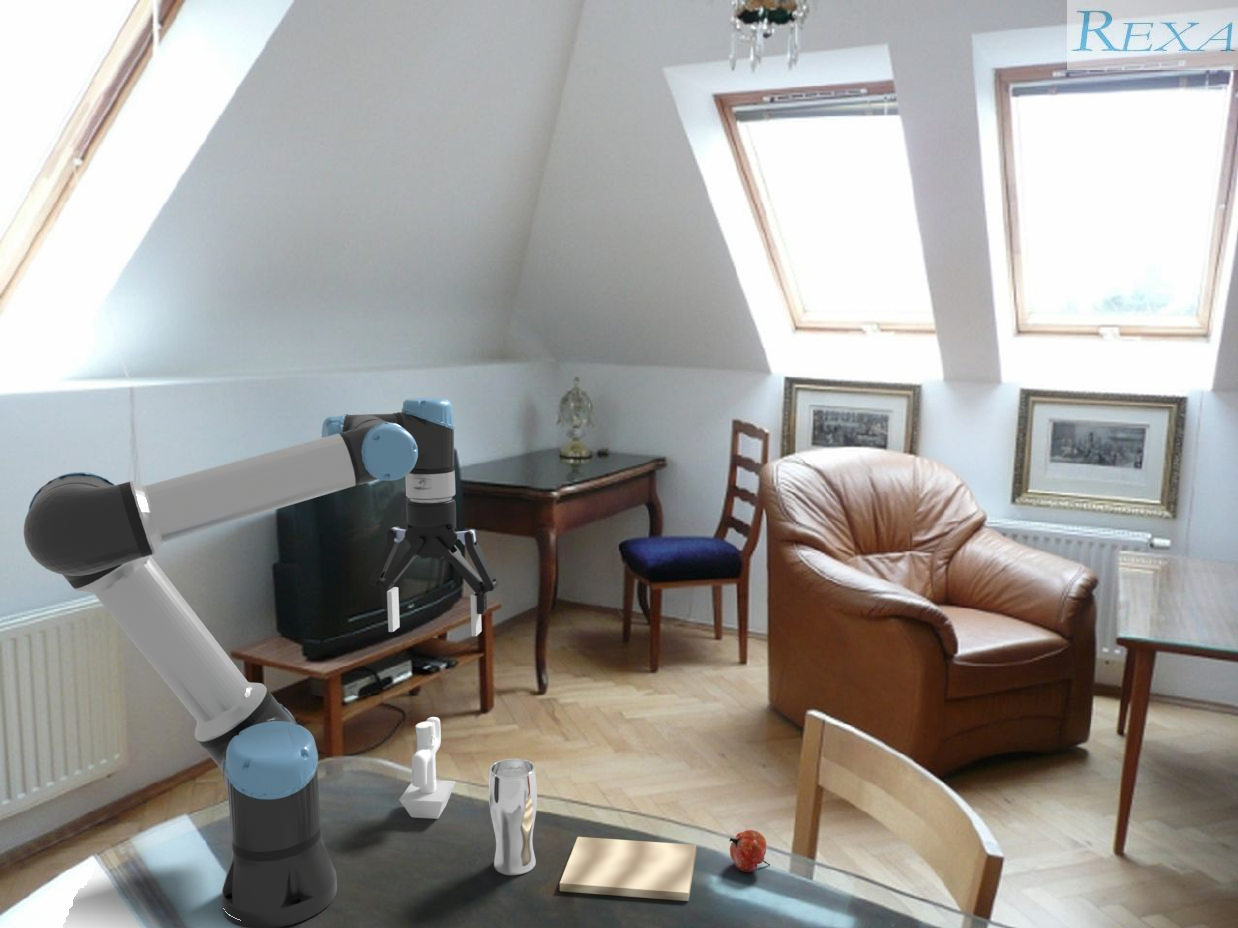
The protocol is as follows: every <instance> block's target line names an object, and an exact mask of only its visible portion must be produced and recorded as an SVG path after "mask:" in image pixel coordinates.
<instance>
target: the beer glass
mask: <svg viewBox="0 0 1238 928" xmlns="http://www.w3.org/2000/svg"><path fill="white" fill-rule="evenodd" d="M535 765H536V764H534V762H532V761H531V760H529V759H526V758H520V757H519V758H518V757H517V758H516V757H515V758H513V757H512V758H511V757H510V758H503V759H500V760H497V761H496V762H494V763H492V764H491V765H490V767H489V774H488V775H489V779H488V804H489V805H488V806H489V811H490V817H491V822H492V826H493V831H494V835H495V855H494V860H493V868H494V869H495V871H496V872H498V873H499V874H502V875H506V876H519V875H523V874H527V873H529V872H531V871H532V870H533V869H534V868H535V866H536V862H537V861H536V855H535V851H534V845H533V836H534V835H533V834H534V833H533V832H534V827H535V822H536V821H535V820H536V815H537V804H538V790H537V789H538V787H537V777H536V776H537V775H536V766H535Z"/></svg>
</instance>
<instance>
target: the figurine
mask: <svg viewBox="0 0 1238 928" xmlns="http://www.w3.org/2000/svg"><path fill="white" fill-rule="evenodd" d="M415 731H416V737H417V740H416V741H417V749H416V752H415V753H414V754H413V756H412V758H411V763H410V765H411V782H410V784H409V785H408V787H407V788H406V789H405V791H404V792H403V793H402V795H400V798H399V799H398V800H399V802H400V803H401V805H402V806H403V808H405V810H406V812H407V813H408V814H409V816H410V817H411V818H417V819H418V818H419V819H435V820H437V819H439V818H440V816H441V815H442V813H443V811H444V809H445V808H446V806H447V804H448V801H449V800H450V797H451V794H452V793H453V791H454V787H455V785H456V781H455V780H453V781H452V780H437V770H436V769H437V768H436V767H437V766H436V755H437V752H438V750H439V749H440V747H441V741H442V733H441V732H442V731H441V720H440V718H439V717H436V716H431V717H428V718H427V719H426V721H421V722H419V723H417V724H416V725H415Z"/></svg>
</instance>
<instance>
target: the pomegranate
mask: <svg viewBox="0 0 1238 928" xmlns="http://www.w3.org/2000/svg"><path fill="white" fill-rule="evenodd" d="M728 841H729V843H730V842H731V843H730V847H729V854H730V857H731V860H732V862H733V863H734V865H735V867H736V868H737V869H739V870H740V871H741V872H744V873H752V872H754V871H755V872H756V870H757V867H758V865H760V864H762V863H764V864H766V865H768V866H770V865H771V864H770V863H769V862H767V861H766V860H765V855H766V852H767V840H766V838H765V837H764V835H763V834H762V833H760V832H758V831H756V830H752V829H750V830H749V829H748V830H744V831H741V832H739V833H737V834H736V835H735V838H732V837H730V838H729V840H728Z"/></svg>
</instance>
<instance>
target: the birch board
mask: <svg viewBox="0 0 1238 928" xmlns="http://www.w3.org/2000/svg"><path fill="white" fill-rule="evenodd" d="M696 856H697V844H687V843H674V842H658V841H644V840H629V839H615V838H614V839H613V838H599V837H587V836H586V837H585V836H577V838H576V840H575V843H574V845H573V847H572V851H571V853H570V855H569V858H568V861H567V863H566V866H565V868H564V871H563V874H562V876H561V879H560V881H559V891H560V892H567V893H580V894H592V895H607V896H619V897H629V898H645V899H657V900H670V901H672V900H673V901H683V902H689V900H690V896H691V895H690V894H691V889H692V888H691V887H692V882H693V875H694V869H695V862H696Z"/></svg>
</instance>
